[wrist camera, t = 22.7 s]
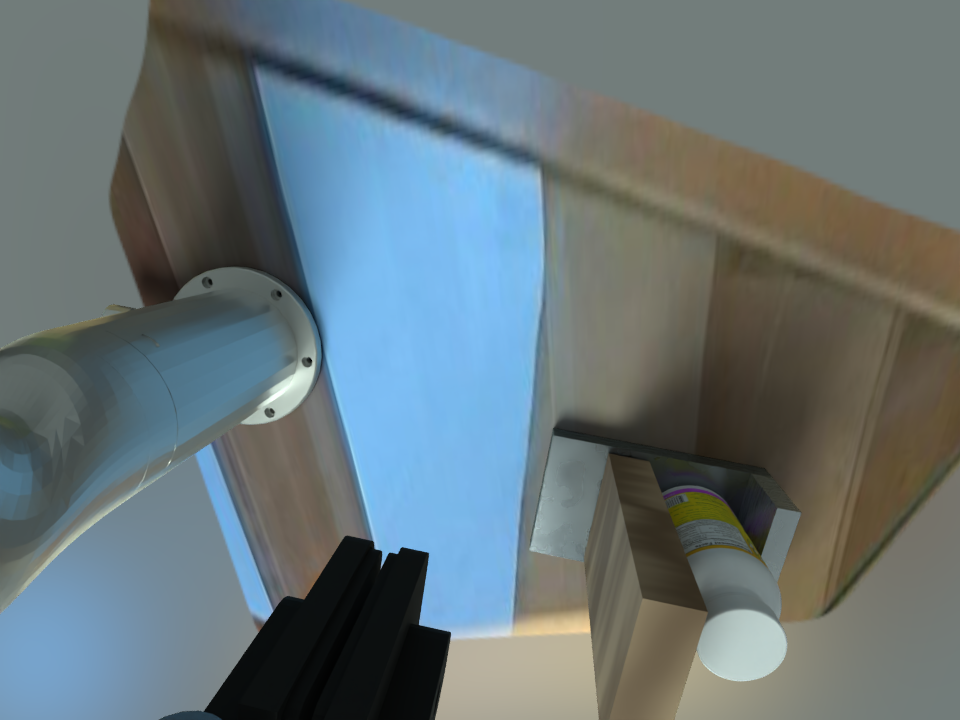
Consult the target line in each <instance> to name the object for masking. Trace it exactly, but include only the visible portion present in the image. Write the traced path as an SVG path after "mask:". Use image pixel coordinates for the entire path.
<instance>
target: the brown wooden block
mask: <svg viewBox="0 0 960 720" xmlns="http://www.w3.org/2000/svg"><path fill="white" fill-rule="evenodd" d="M584 563H585V574H586V585H587V595H588V606H589V617H590V628H591V638H592V649H593V660H594V671H595V682H596V692H597V703H598V713H599V720H674V719H675V716H676V713H677V709H678V706H679V703H680V700H681V697H682V694H683V690H684V687H685V684H686V681H687V678H688V674H689V671H690V668H691V665H692V662H693V659H694V655H695V652H696V649H697V646H698V643H699V640H700V636H701V633H702V630H703V627H704V624H705V621H706V617H707V614H708V611H707V608H706V605H705V603H704V600H703V598H702V595H701V593H700V590H699V587H698V585H697V582H696V580H695V577H694V575H693V572H692V569H691V567H690V564H689V562H688V559H687V557H686V554H685V552H684V549H683V546H682V544H681V541H680V539H679V536H678V534H677V531H676V528H675V526H674V523H673V521H672V518H671V516H670V513H669V510H668V508H667V505H666V503H665V500H664V498H663V495H662V492H661V490H660V487H659V485H658V482H657V480H656V477H655V475H654V472H653V469H652V467H651V464H650V462H649V461H645V460H640V459H635V458H629V457H624V456H619V455H614V454H608V458H607V463H606V467H605V471H604V475H603V480H602V484H601V488H600V492H599V496H598V501H597V505H596V509H595V513H594V518H593V522H592V526H591V530H590V534H589V539H588V543H587V547H586V551H585V556H584Z"/></svg>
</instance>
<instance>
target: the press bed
mask: <svg viewBox="0 0 960 720" xmlns="http://www.w3.org/2000/svg"><path fill="white" fill-rule="evenodd" d="M608 454H614V455H619V456H624V457H629V458H635V459H640V460H645V461H649V462H650V464H651V467H652V469H653V472H654V475H655V477H656V480H657V482H658V485H659V487H660V490H661V492H662V493H663V492H664V491H666V490H669V489H671V488H674V487H678V486H686V485H692V486H700V487H704V488H707V489H709V490H711V491H713V492H715V493H716V494H718V495H719V496H721V497H722V498H723V499H724V500H725V501H726V502H727V504H728V505H729V507H730V508H731V509H732V511H733V513H734V514H735V516H736V517H737V519H738V521H739V522H740V524H741V525H742V527H743V529H744V530H745V532H746V534H747V535H748V537H749V538H750V540H751V542H752V543H753V545H754V546H755V548H756V550H757V551H758V553H759V554H760V556H761V558H762V559H763V561H764V562H765V564H766V565H767V567H768V569H769V570H770V572H771V574H772V575H773V577H774V579H775V580H776V582H777V581H778V578H779V575H780V572H781V570H782V567H783V564H784V561H785V558H786V555H787V552H788V549H789V547H790V544H791V541H792V538H793V535H794V532H795V529H796V527H797V524H798V521H799V518H800V515H801V512H800V511H799V509H798V508H797V507H796V506H795V504H794V503H793V502H792V501H791V500H790V498H789V497H788V496H787V495H786V494H785V492H784V491H783V490H782V489H781V488H780V486H779V485H778V484H777V483H776V482H775V480H774V479H773V478H772V477H771V475H770V474H769V473H768V472H767V471H766V469H765V468H760V467H755V466H750V465H744V464H739V463H734V462H729V461H723V460H718V459H713V458H708V457H702V456H697V455H692V454H687V453H681V452H676V451H671V450H666V449H661V448H655V447H650V446H645V445H640V444H634V443H629V442H624V441H619V440H613V439H608V438H603V437H598V436H592V435H587V434H582V433H577V432H571V431H566V430H561V429H556V428H553V432H552V437H551V442H550V447H549V451H548V456H547V461H546V466H545V471H544V476H543V481H542V486H541V491H540V495H539V500H538V505H537V510H536V515H535V520H534V525H533V530H532V535H531V539H530V551H534V552H539V553H544V554H548V555H553V556H558V557H563V558H568V559H572V560H577V561H582V562H584V556H585V551H586V547H587V543H588V539H589V534H590V530H591V526H592V522H593V518H594V513H595V509H596V505H597V501H598V496H599V492H600V488H601V484H602V480H603V475H604V471H605V467H606V463H607V458H608Z"/></svg>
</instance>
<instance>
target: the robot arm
mask: <svg viewBox="0 0 960 720" xmlns="http://www.w3.org/2000/svg"><path fill="white" fill-rule="evenodd" d="M211 280H212V281H211ZM212 282H213V283H212ZM279 291H280V292H281V293H282V296H280V295H279ZM309 357H310V358H311V359H312V362H311V361H310V360H309ZM321 359H322V354H321V341H320V337H319V333H318V329H317V326H316V324H315V322H314V319H313V317H312V315H311V313H310V311H309V310H308V308H307V307H306V305H305V304H304V302H303V301H302V299H301V298H300V297H299V296H298V295H297V294H296V293H295V292H294V291H293V290H292V289H291V288H290V287H289V286H287V285H286V284H284V283H283V282H282V281H280V280H279V279H278V278H276V277H274V276H272V275H270V274H268V273H266V272H263V271H260V270H256V269H253V268H249V267H237V266H232V267H223V268H218V269H214V270H209V271H206V272H204V273H202V274H200V275H198V276H196V277H194V278H192V279H191V280H190V281H189V282H188V283H186V284H185V285H184V286H183V287H182V288H181V289H180V291H179V292H178V293H177V294H176V296H175V297H174V299H173V301H169V302H164V303H160V304H156V305H152V306H147V307H143V308H139V309H136V308H131V307H125V306H120V305H115V304H113V305H109V306H108V307H107V308H106V309H105V310H104V312H103V315H102V317H101V318H96V319H92V320H88V321H84V322H79V323H75V324H71V325H67V326H62V327H57V328H53V329H49V330H44V331H40V332H37V333H34V334H31V335H28V336H25V337H22V338H20V339H18V340H15V341H14V342H12V343H9V344H7V345H5V346H4V347H2V348H0V614H1V613H2V612H3V611H4V610H5V609H6V608H7V607H8V606H9V605H10V604H11V603H12V602H13V601H14V600H15V599H16V598H17V597H18V596H19V595H20V594H21V592H23V591H24V589H25V588H26V587H27V586H28V585H29V584H30V583H31V582H32V581H33V580H34V579H35V578H36V577H37V576H38V575H39V574H40V572H42V571H43V570H44V569H45V568H46V566H48V564H49V563H50V562H51V561H52V560H54V559H55V558H56V557H57V556H58V555H59V554H60V553H61V552H62V551H63V550H64V549H65V548H66V547H67V546H68V545H69V544H71V543H72V542H73V541H74V540H75V539H76V538H77V537H78V536H80V535H81V534H82V533H83V532H84V531H86V530H87V529H88V528H90V527H91V526H92V525H93V524H95V523H96V522H97V521H98V520H100V519H101V518H102V517H104V516H105V515H107V514H108V513H109V512H110V511H112V510H114V509H115V508H116V507H118V506H119V505H120V504H122V503H123V502H125V501H126V500H128V499H129V498H131V497H132V496H133V495H135V494H136V493H138V492H139V491H141V490H142V489H144V488H145V487H147V486H148V485H150V484H151V483H153V482H154V481H156V480H157V479H158V478H160V477H161V476H163V475H164V474H166V473H167V472H169V471H170V470H172V469H173V468H175V467H176V466H177V465H179V464H181V463H182V462H184V461H185V460H186V459H188V458H189V457H191V456H192V455H194V454H195V453H197V452H198V451H200V450H201V449H203V448H204V447H206V446H207V445H209V444H210V443H212V442H213V441H214V440H216V439H217V438H219V437H220V436H222V435H223V434H225V433H226V432H228V431H229V430H231V429H232V428H234V427H235V426H237V425H238V424H247V425H256V424H266V423H269V422H272V421H276V420H279V419H280V418H282V417H284V416H286V415H288V414H290V413H291V412H292V411H294V410H295V409H296V408H297V407H299V406H300V405H301V404H302V403H303V402H304V400H305V399H306V398H307V397H308V396H309V394H310V393H311V391H312V389H313V388H314V386H315V384H316V381H317V378H318V375H319V373H320V367H321ZM428 558H429V553H427V552H422V551H417V550H413V549H408V548H403V547H402V548H401V549H400V551H399V553H398V554H394V553H389V554H388V556H387V558H386V560H385V562H384V564H383V566H382V568H381V561H382V551H380V550H375V549H374V542H373V541H370V540H365V539H361V538H356V537H351V536H345V537H344V539H343V540H342V542H341V543H340V545H339V546H338V548H337V549H336V551H335V552H334V554H333V556H332V557H331V559H330V560H329V562H328V563H327V565H326V567H325V568H324V570H323V571H322V573H321V574H320V576H319V578H318V579H317V581H316V582H315V584H314V585H313V587H312V589H311V590H310V592H309V593H308V595H307V596H306V598H305V600H304V599H299V598H295V597H290V596H287V597H285V598H283V599H282V601H281V602H280V603H279V604H278V606H277V607H276V609H275V610H274V611H273V613H272V614H271V616H270V617H269V619H268V620H267V621H266V623H265V624H264V626H263V627H262V629H261V630H260V631H259V633H258V634H257V636H256V637H255V639H254V640H253V642H252V643H251V644H250V646H249V647H248V649H247V650H246V652H245V653H244V654H243V656H242V657H241V659H240V660H239V662H238V663H237V665H236V666H235V668H234V669H233V670H232V672H231V674H230V675H229V676H228V678H227V679H226V680H225V682H224V683H223V685H222V686H221V688H220V689H219V691H218V692H217V694H216V695H215V696H214V698H213V699H212V700H211V702H210V703H209V705H208V706H207V708H206V709H205V711H204V712H202V711H183V712H179V713H175V714H172V715H168V716H165V717H163V718H161V719H159V720H435V716H436V712H437V707H438V702H439V698H440V693H441V688H442V683H443V678H444V673H445V667H446V662H447V656H448V650H449V644H450V638H451V632H448V631H443V630H439V629H434V628H430V627H425V626H421V625H419V619H420V612H421V606H422V599H423V592H424V586H425V579H426V572H427V566H428ZM380 569H381V570H380Z"/></svg>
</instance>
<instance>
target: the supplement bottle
mask: <svg viewBox="0 0 960 720" xmlns="http://www.w3.org/2000/svg"><path fill="white" fill-rule="evenodd" d="M662 495H663V498H664V500H665V503H666V505H667V508H668V510H669V513H670V516H671V518H672V521H673V523H674V526H675V528H676V531H677V534H678V536H679V539H680V541H681V544H682V546H683V549H684V552H685V554H686V557H687V559H688V562H689V564H690V567H691V569H692V572H693V575H694V577H695V580H696V582H697V585H698V587H699V590H700V593H701V595H702V598H703V600H704V603H705V605H706V608H707V611H708V614H707V617H706V621H705V624H704V627H703V630H702V633H701V636H700V640H699V643H698V646H697V649H696V650H697V653H698V655H699V658H700V659H701V661H702V663H703V664H704V665H705V666H706V667H707V668H708V669H709V670H710V671H711V672H713V673H714V674H716V675H718V676H720V677H722V678H725V679H729V680H734V681H749V680H755V679H758V678H762V677H764V676H766V675H768V674H769V673H771V672H772V671H774V670H775V669H776V668H777V667H778V666H779V665H780V664H781V662H782V661H783V659H784V657H785V654H786V651H787V637H786V634H785V631H784V630H783V627H782V626H781V624H780V622H779V617H780V614H781V606H782V604H781V594H780V590H779V587H778V585H777V582H776V580H775V579H774V577H773V575H772V574H771V572H770V570H769V569H768V567H767V565H766V564H765V562H764V561H763V559H762V558H761V556H760V554H759V553H758V551H757V550H756V548H755V546H754V545H753V543H752V542H751V540H750V538H749V537H748V535H747V534H746V532H745V530H744V529H743V527H742V525H741V524H740V522H739V521H738V519H737V517H736V516H735V514H734V513H733V511H732V509H731V508H730V507H729V505H728V504H727V502H726V501H725V500H724V499H723V498H722V497H721V496H719V495H718V494H716V493H715V492H713V491H711V490H709V489H707V488H704V487H700V486H692V485H686V486H678V487H674V488H671V489H669V490H666V491H664V492H663V493H662Z"/></svg>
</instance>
